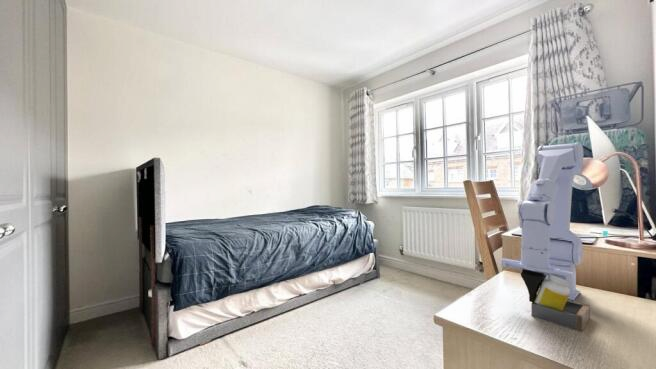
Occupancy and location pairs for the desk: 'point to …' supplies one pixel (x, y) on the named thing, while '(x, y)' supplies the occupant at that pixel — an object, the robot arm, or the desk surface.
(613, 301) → the desk surface
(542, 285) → the supplement bottle
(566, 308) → the bracket
